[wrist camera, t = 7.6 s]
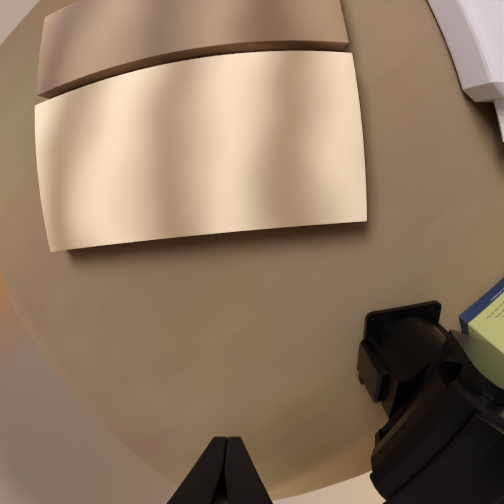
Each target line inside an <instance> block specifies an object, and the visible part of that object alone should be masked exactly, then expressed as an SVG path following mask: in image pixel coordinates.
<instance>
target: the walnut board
mask: <svg viewBox="0 0 504 504" xmlns="http://www.w3.org/2000/svg"><path fill="white" fill-rule="evenodd" d="M348 43H349V42H348V36H347V31H346V27H345V22H344V17H343V13H342V9H341V5H340V0H80V1H78V2H75V3H73V4H71V5H69V6H67V7H64V8H62V9H60V10H58V11H56V12H54V13H52V14H50V15H48V16H46V17H45V20H44V26H43V33H42V40H41V48H40V57H39V68H38V82H37V96H41V97H45V98H51V97H54V96H56V95H58V94H61V93H64V92H66V91H69V90H71V89H74V88H77V87H80V86H82V85H85V84H88V83H91V82H94V81H97V80H100V79H104V78H107V77H110V76H114V75H117V74H121V73H124V72H128V71H132V70H136V69H140V68H144V67H148V66H152V65H157V64H161V63H166V62H171V61H177V60H182V59H188V58H194V57H200V56H208V55H215V54H224V53H233V52H244V51H259V50H284V49H311V50H336V51H342V50H343V49H344V48H345V46H346V45H347V44H348Z"/></svg>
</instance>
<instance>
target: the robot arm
mask: <svg viewBox="0 0 504 504" xmlns="http://www.w3.org/2000/svg"><path fill="white" fill-rule="evenodd" d="M435 306H436V308H435V309H434V307H435ZM440 312H441V304H440V303H439V302H438V301H430V302H425V303H420V304H414V305H409V306H403V307H397V308H392V309H386V310H379V311H373V312H370V313H368V314H367V316H366V318H365V327H364V337H363V340H362V341H361V343H360V348H359V357H358V365H357V369H358V371H359V381H360V383H361V384H365V386H366V388H367V390H368V392H369V394H370V396H371V398H372V400H373V401H374V402H375V403H379V402H381V404H382V406H383V408H384V410H385V412H386V414H387V416H388V418H389V421H388V422H387V423H386V424H385V426H384V427H383V428H382V429H379V431H378V432H377V433H376V434H375V448H374V449H373V453H372V456H371V465H372V473H371V474H370V479H371V481H372V483H373V485H374V487H375V489H376V490H377V491H378V493H379V494H380V495H381V496H382V497H383V498H384V499H385V500H386V501H385V502H384V503H383V504H504V353H502V352H501V351H500V350H498V349H497V348H496V347H495V346H493V345H492V344H491V343H489V342H487V341H484V340H481V339H478V338H475V337H472V336H469V335H466V334H463V333H460V332H457V331H454V330H450V331H449V332H448V331H447V330H446V329H445V328H444V327H443V326H441V325H440V324H439V323H438V322H439V317H440ZM373 317H375V318H374V320H372V321H370V320H371V319H372V318H373ZM167 504H273V503H272V501H271V499H270V497H269V495H268V493H267V491H266V489H265V487H264V485H263V483H262V481H261V479H260V477H259V475H258V473H257V471H256V469H255V467H254V465H253V463H252V460H251V458H250V456H249V454H248V452H247V450H246V447H245V445H244V443H243V441H242V439H241V437H239V436H237V437H228V438H227V437H214V438H213V439H212V440H211V441H210V443H209V444H208V446H207V447H206V449H205V450H204V452H203V453H202V455H201V456H200V458H199V459H198V461H197V462H196V464H195V465H194V466H193V468H192V469H191V471H190V472H189V474H188V475H187V476H186V478H185V479H184V481H183V482H182V483H181V485H180V486H179V487H178V489H177V491H176V492H175V493H174V494H173V496H172V497H171V498H170V500H169V501H168V502H167Z"/></svg>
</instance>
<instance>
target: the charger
mask: <svg viewBox="0 0 504 504" xmlns="http://www.w3.org/2000/svg"><path fill="white" fill-rule="evenodd" d="M427 1H428V3H429V5H430V7H431V9H432V11H433V13H434V15H435V17H436V19H437V22H438V24H439V26H440V29H441V31H442V33H443V36H444V38H445V41H446V43H447V46H448V48H449V51H450V53H451V56H452V59H453V62H454V65H455V68H456V71H457V74H458V77H459V80H460V83H461V86H462V90H463V91H464V92H465V93H466V94H467V95H468V96H469V97H470V98H471V99H473V100H474V101H475V102H494V105H495V109H496V113H497V118H498V122H499V127H500V132H501V138H502V142H504V0H427Z"/></svg>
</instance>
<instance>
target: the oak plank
mask: <svg viewBox="0 0 504 504" xmlns="http://www.w3.org/2000/svg"><path fill="white" fill-rule="evenodd" d="M35 139H36V156H37V169H38V179H39V187H40V195H41V202H42V209H43V215H44V221H45V227H46V232H47V237H48V242H49V247H50V251H51V252H53V251H61V250H69V249H77V248H85V247H93V246H102V245H110V244H119V243H128V242H137V241H146V240H155V239H165V238H174V237H184V236H194V235H204V234H215V233H225V232H236V231H247V230H258V229H270V228H282V227H294V226H306V225H319V224H333V223H346V222H361V221H367V203H366V176H365V158H364V145H363V133H362V123H361V113H360V104H359V96H358V89H357V82H356V75H355V69H354V63H353V57H352V53H344V52H327V51H268V52H251V53H238V54H228V55H219V56H211V57H204V58H197V59H191V60H185V61H179V62H174V63H169V64H164V65H159V66H154V67H150V68H146V69H141V70H137V71H133V72H130V73H126V74H122V75H119V76H115V77H112V78H108V79H105V80H102V81H99V82H96V83H92V84H89V85H87V86H84V87H81V88H78V89H75V90H72V91H70V92H67V93H65V94H62V95H59V96H57V97H54V98H52V99H50V100H47V101H45V102H43V103H40V104H38V105H36V106H35Z"/></svg>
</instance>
